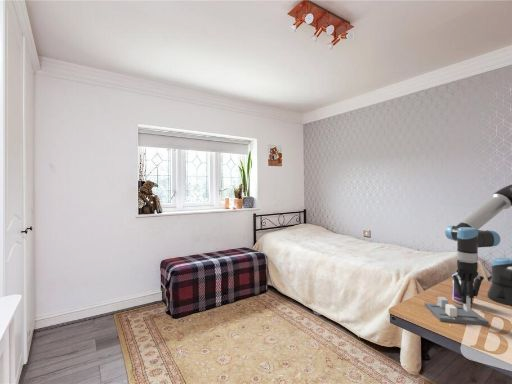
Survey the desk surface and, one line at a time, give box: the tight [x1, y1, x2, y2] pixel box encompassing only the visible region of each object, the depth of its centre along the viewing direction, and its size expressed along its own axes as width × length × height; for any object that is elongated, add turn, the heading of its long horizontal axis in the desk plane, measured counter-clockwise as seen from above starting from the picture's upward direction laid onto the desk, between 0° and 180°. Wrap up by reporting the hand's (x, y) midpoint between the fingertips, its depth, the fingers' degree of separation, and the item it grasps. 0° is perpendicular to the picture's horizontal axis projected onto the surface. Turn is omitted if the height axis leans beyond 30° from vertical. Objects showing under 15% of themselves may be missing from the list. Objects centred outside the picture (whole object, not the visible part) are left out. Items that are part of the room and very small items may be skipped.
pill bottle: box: [451, 276, 468, 306], centre depth 144 cm, size 8×8×14 cm
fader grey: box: [437, 296, 449, 308], centre depth 135 cm, size 3×4×4 cm
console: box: [423, 302, 490, 326], centre depth 130 cm, size 20×16×2 cm
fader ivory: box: [445, 303, 457, 317], centre depth 126 cm, size 3×4×4 cm
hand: (466, 310), depth 125 cm, fingers closed
